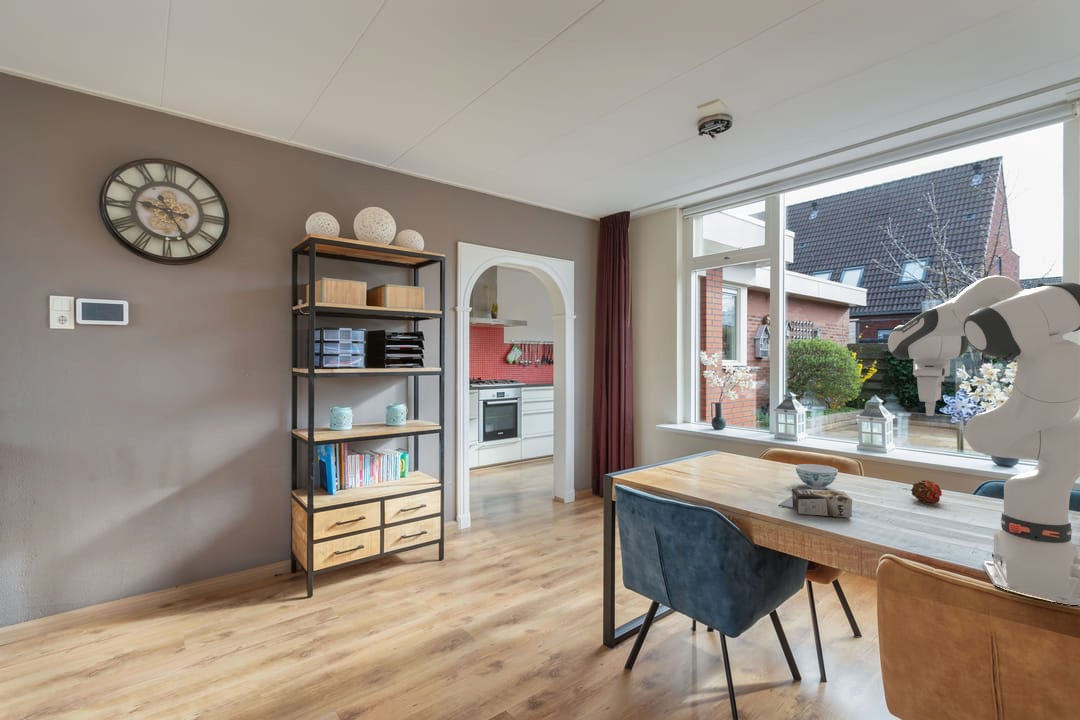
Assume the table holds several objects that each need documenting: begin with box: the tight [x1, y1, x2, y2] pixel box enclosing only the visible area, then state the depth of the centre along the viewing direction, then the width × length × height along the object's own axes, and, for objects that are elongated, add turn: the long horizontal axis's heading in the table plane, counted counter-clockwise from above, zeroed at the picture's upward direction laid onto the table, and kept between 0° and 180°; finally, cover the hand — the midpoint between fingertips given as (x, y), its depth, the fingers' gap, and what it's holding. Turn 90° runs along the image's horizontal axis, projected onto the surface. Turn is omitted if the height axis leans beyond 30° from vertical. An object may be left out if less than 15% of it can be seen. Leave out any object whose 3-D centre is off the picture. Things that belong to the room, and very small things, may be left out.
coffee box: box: [791, 488, 853, 518], centre depth 171 cm, size 9×6×16 cm
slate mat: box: [777, 495, 795, 510], centre depth 178 cm, size 14×17×1 cm
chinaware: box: [795, 463, 839, 490], centre depth 204 cm, size 15×15×8 cm
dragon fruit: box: [910, 479, 943, 504], centre depth 183 cm, size 8×8×12 cm
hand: (930, 415), depth 154 cm, fingers closed
